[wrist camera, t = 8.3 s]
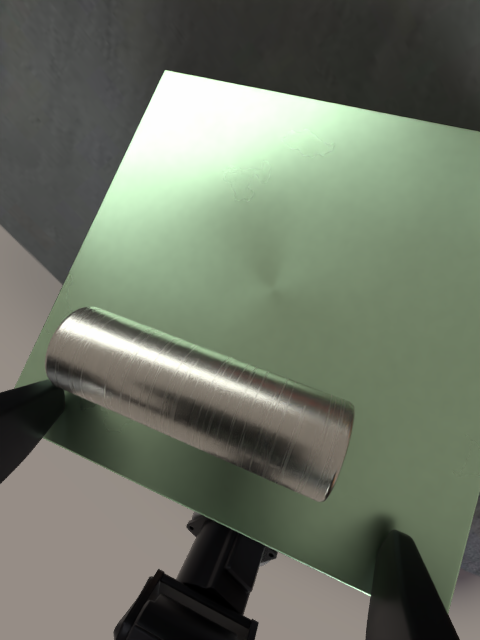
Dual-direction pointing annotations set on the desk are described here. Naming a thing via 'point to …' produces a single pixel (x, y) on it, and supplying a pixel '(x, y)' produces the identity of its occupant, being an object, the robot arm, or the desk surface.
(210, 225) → the machine lid
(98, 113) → the desk surface
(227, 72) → the desk surface
